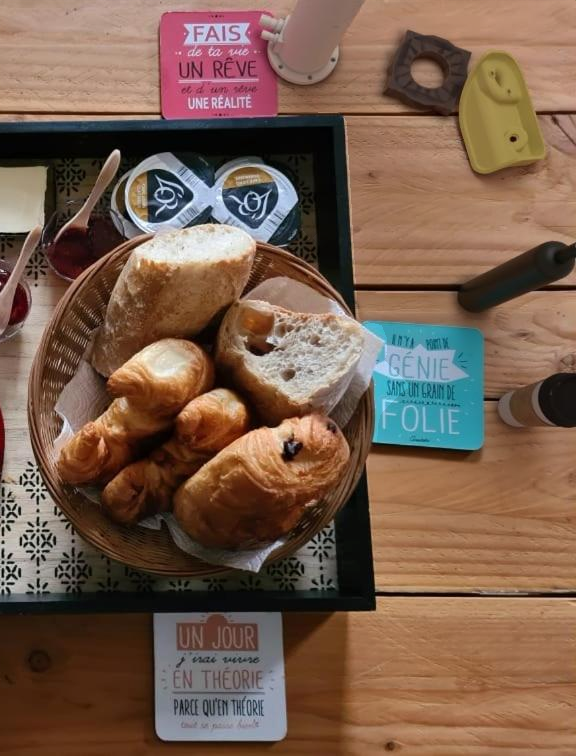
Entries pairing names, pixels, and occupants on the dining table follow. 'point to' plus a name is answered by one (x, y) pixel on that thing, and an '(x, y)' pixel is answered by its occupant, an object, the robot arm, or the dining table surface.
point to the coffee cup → (542, 403)
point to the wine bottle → (518, 276)
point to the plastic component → (499, 115)
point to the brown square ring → (440, 52)
